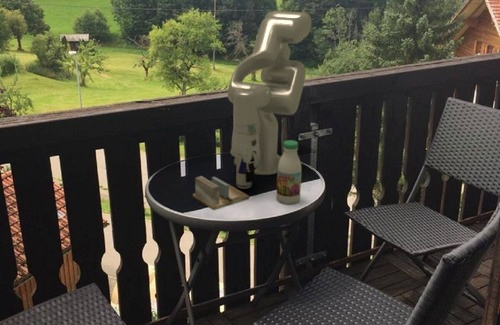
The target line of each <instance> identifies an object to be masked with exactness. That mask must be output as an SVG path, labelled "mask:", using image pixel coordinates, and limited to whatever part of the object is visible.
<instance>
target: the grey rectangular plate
mask: <svg viewBox="0 0 500 325" xmlns="http://www.w3.org/2000/svg"><path fill="white" fill-rule="evenodd" d="M211 182H213V183H214V184H216V185H218V186H219V195H221V196H223V197H224V198H227V199H228V200H230V201H232V199H231V198H229V185H230V184H229V183H227V182H225V181H224V180H222V179H219V178H218V177H216V176H212V177H211ZM228 184H229V185H228Z"/></svg>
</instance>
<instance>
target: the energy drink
mask: <svg viewBox="0 0 500 325" xmlns="http://www.w3.org/2000/svg"><path fill="white" fill-rule="evenodd" d="M250 161H252V160H250ZM249 165H250V167H251V166H252V164H249ZM246 171H247V167H246V163H245V162H243V158H242V156H241V155H239V154H238V153H237V155H236V176H235V177H236V178H235V179H236V181H235V182H236V183H235V184H236V186H237V188H239V189H243V190H245V189H250V188H252V186H253V181H251V182H248V183H247V182H246Z"/></svg>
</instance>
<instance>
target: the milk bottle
mask: <svg viewBox="0 0 500 325" xmlns="http://www.w3.org/2000/svg"><path fill="white" fill-rule="evenodd" d="M282 146H283V153H282V155H281V156H282V157H281V159H280V161H279V164H278V172H277V173H276V174H277V175H276V196H275V198H276V200H277V201H278V203H281V202H282V204H284V203H294V204H297V203H298V202H299V201H300V200H301V188H302V187H301V186H302V185H301V184H302V162H301V159H300V157H299V155H298V149H299V142H298V141H296V140H292V139H289V140H288V139H287V140H284V141H283V145H282ZM296 202H297V203H296Z"/></svg>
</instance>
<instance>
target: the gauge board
mask: <svg viewBox="0 0 500 325" xmlns="http://www.w3.org/2000/svg"><path fill="white" fill-rule="evenodd" d="M194 181H195V182H194V184H195V186H194V188H195V193H192V197H193V198H194V199H196V200H197V201H199V202H201V203H202V204H204V205H205V206H207V207H208V208H210V209H212V210H214V211H215V210H219V209H221V208H224V207H227V206H231V205H233V204H237V203H239V202H243V201H246V200H249V199H250V195H248V194H246V193H245V192H243V191H241V190H239V189H238V188H236V187H235V186H232V185H231V184H229V183H227V184H228V185H229V198H231V199H232V201H230V200H228V199H227V198H224V197H223V196H221V195H219V186H218V185H216V184H214V183H213V182H212V180H209V179H207V178H206V177H204V176H203V175H200V176H197V177H195V178H194Z"/></svg>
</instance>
